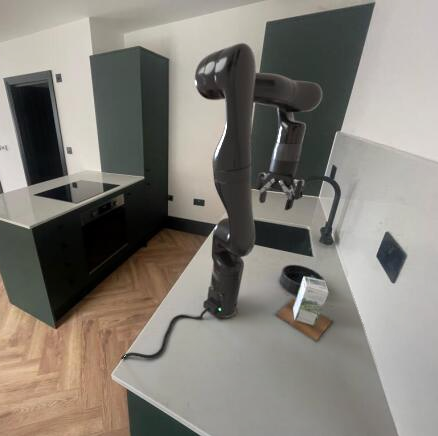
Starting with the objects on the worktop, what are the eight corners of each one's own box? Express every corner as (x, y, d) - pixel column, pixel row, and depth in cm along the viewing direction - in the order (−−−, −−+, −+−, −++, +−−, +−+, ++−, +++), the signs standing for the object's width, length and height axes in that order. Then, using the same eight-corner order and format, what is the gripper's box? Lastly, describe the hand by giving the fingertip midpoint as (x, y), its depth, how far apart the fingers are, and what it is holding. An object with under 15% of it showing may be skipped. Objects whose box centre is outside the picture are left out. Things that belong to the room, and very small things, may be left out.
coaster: (316, 341, 68) (316, 340, 68) (276, 315, 77) (276, 314, 77) (332, 321, 75) (332, 320, 74) (293, 299, 84) (293, 299, 83)
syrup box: (312, 313, 77) (325, 279, 71) (315, 327, 72) (329, 291, 66) (292, 308, 79) (303, 274, 73) (294, 321, 75) (306, 286, 69)
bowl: (310, 305, 81) (314, 293, 79) (272, 284, 91) (275, 273, 89) (326, 289, 88) (330, 277, 86) (289, 271, 98) (292, 260, 96)
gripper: (257, 156, 75) (248, 202, 82) (304, 162, 65) (290, 215, 71) (269, 153, 79) (260, 198, 86) (316, 159, 69) (301, 209, 75)
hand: (274, 206), depth 79 cm, fingers open, 8 cm apart
